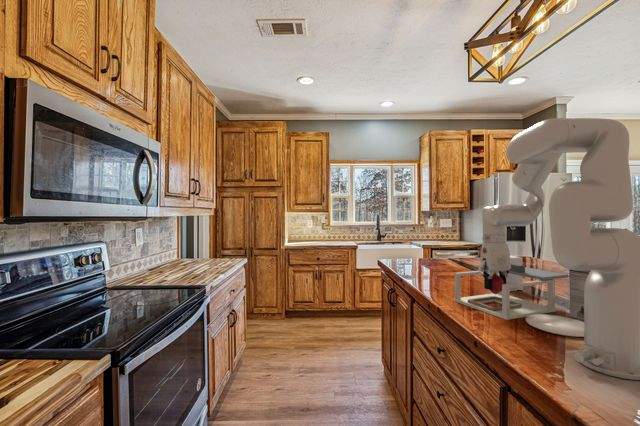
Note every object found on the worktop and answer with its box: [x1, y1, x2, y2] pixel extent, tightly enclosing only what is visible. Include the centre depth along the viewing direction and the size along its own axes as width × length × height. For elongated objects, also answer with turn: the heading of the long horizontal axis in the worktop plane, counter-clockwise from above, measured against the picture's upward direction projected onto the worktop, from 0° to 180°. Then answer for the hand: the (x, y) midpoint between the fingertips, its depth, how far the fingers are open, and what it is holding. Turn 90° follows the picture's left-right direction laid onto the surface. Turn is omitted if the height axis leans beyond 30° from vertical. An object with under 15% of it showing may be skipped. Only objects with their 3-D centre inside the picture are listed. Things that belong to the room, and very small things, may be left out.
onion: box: [489, 272, 504, 294], centre depth 114 cm, size 6×6×8 cm
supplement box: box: [492, 255, 524, 292], centre depth 142 cm, size 9×9×15 cm
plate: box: [525, 313, 584, 338], centre depth 95 cm, size 17×17×1 cm
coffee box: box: [568, 269, 591, 321], centre depth 103 cm, size 9×6×16 cm
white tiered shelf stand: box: [453, 270, 557, 321], centre depth 116 cm, size 24×23×11 cm
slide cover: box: [501, 264, 569, 280], centre depth 120 cm, size 13×22×4 cm, turn 20°
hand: (495, 288), depth 114 cm, fingers closed on onion, 5 cm apart
